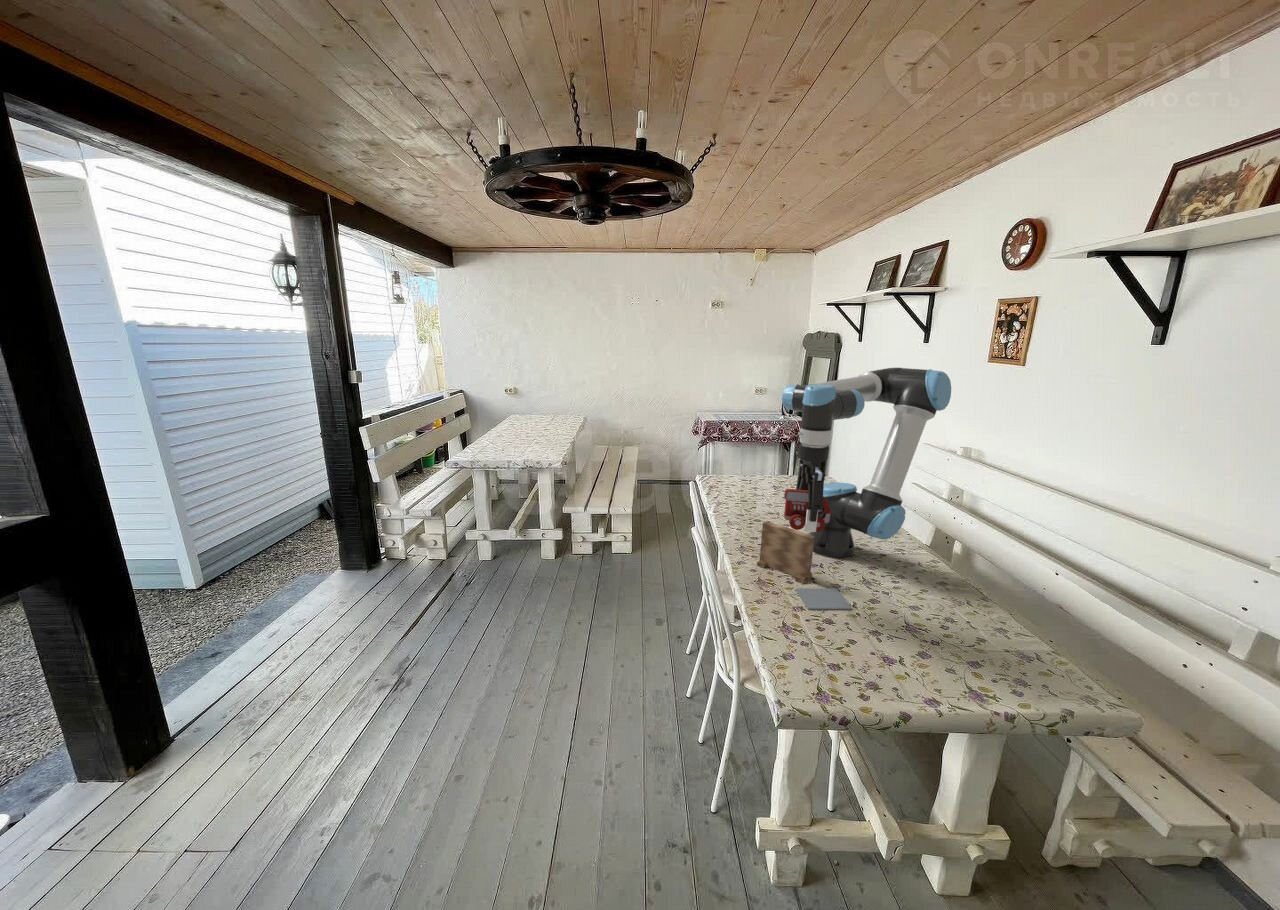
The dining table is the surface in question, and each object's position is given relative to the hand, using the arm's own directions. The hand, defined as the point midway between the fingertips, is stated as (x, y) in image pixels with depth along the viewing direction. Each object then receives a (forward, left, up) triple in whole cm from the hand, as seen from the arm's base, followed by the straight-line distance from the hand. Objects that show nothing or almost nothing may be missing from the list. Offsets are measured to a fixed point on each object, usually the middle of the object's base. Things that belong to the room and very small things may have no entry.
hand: (805, 524), depth 128 cm
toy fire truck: (0, 0, -1) cm, 1 cm away
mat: (-6, +3, -21) cm, 22 cm away
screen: (0, -13, -21) cm, 24 cm away
